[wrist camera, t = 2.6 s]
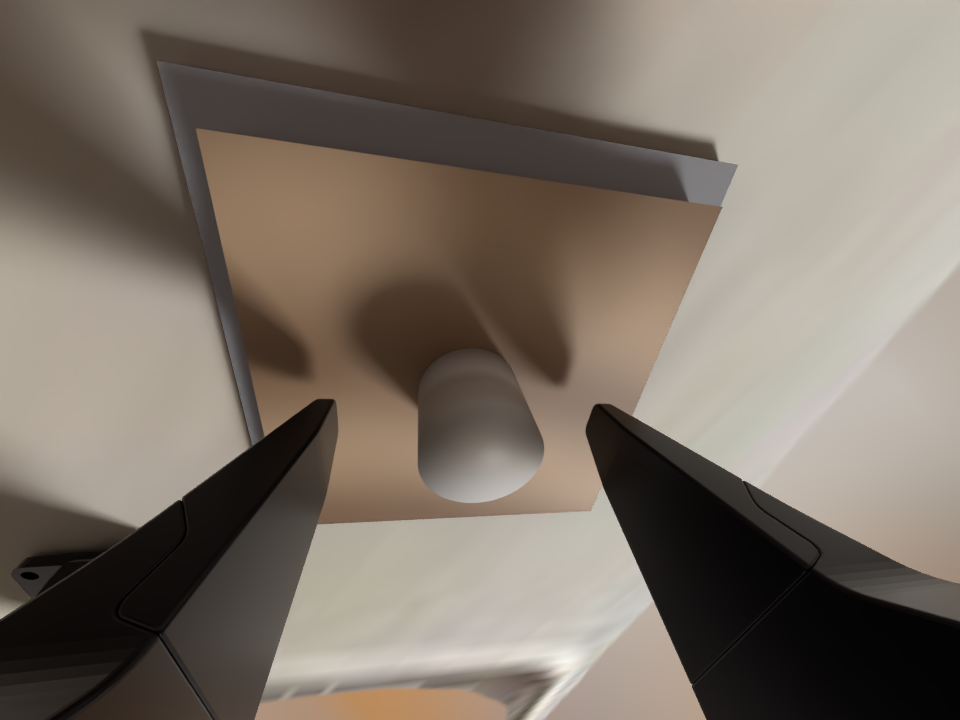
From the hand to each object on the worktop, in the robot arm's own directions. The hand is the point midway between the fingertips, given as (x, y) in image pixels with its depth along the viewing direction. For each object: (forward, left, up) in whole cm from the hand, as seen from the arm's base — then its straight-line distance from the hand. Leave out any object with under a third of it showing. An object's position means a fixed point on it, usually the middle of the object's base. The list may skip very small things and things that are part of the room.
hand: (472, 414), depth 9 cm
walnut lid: (0, 0, -2) cm, 2 cm away
